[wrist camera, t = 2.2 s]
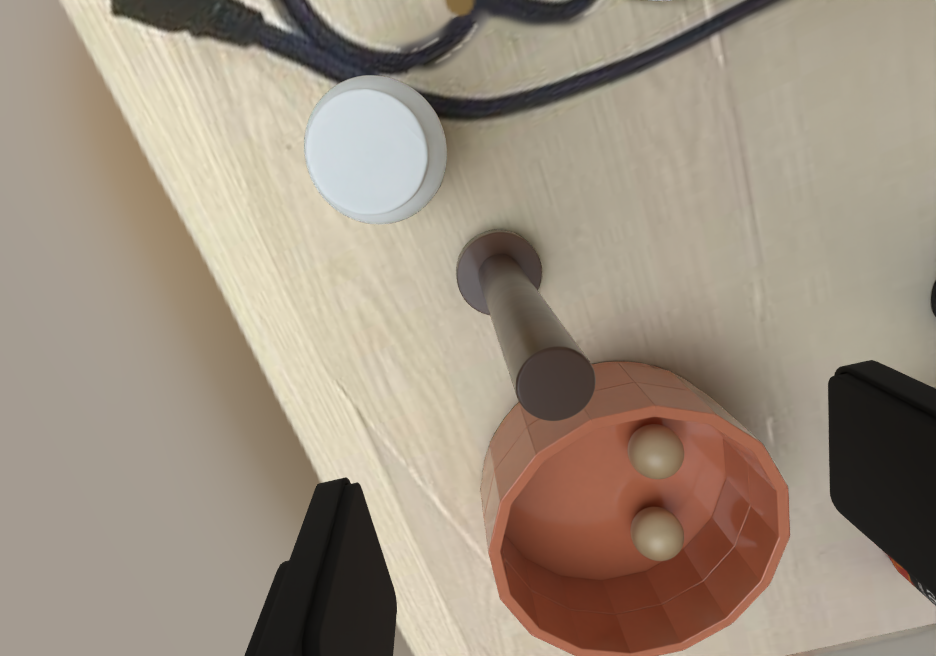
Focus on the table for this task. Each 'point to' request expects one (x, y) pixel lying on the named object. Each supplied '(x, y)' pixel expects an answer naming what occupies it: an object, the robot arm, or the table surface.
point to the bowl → (630, 519)
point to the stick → (525, 325)
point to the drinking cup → (934, 299)
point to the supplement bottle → (375, 149)
